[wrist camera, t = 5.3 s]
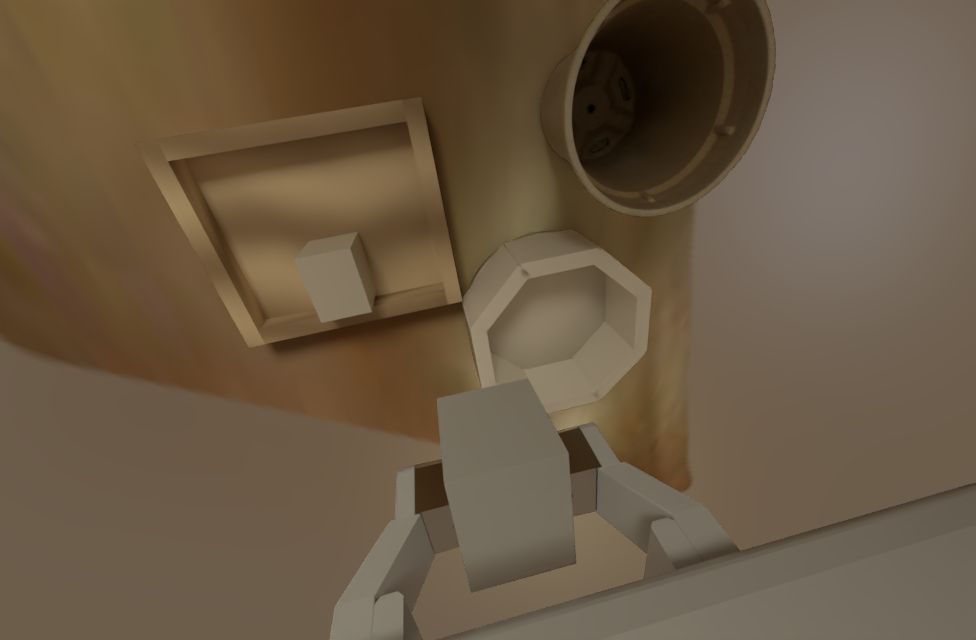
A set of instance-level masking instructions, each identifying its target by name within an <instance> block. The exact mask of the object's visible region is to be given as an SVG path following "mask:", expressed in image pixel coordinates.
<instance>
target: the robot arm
mask: <svg viewBox="0 0 976 640" xmlns="http://www.w3.org/2000/svg"><path fill="white" fill-rule="evenodd" d="M557 433H558V434H559V436H560V438H561V440H562V442H563V444H564V445H565V447H566V449H567V451H568V453H569V466H570V481H571V495H572V510H573V516H577V515H581V514H586V513H590V512H594V511H597V513H598V514H599V515H601V516H602V517H603V518H604V519H605V520H607V521H608V522H609V523H610V524H611V525H613V526H614V527H615V528H616V529H617V530H619V531H620V532H621V533H622V534H624V535H625V536H626V537H627V538H628V539H630V540H631V541H632V542H633V543H634V544H636V545H637V546H638V547H639V548H641V549H642V550H643V551H644V552H645V553H647V559H646V566H645V575H644V579H643V580H639V581H636V582H632V583H629V584H626V585H622V586H619V587H615V588H612V589H608V590H605V591H601V592H598V593H595V594H591V595H588V596H584V597H581V598H577V599H574V600H570V601H567V602H564V603H560V604H557V605H553V606H550V607H546V608H543V609H540V610H536V611H533V612H529V613H526V614H522V615H519V616H516V617H512V618H509V619H506V620H502V621H498V622H495V623H492V624H488V625H485V626H482V627H478V628H474V629H471V630H468V631H464V632H461V633H457V634H454V635H450V636H447V637H444V638H440V639H437V640H976V483H972V484H968V485H965V486H962V487H958V488H955V489H952V490H948V491H944V492H941V493H937V494H934V495H931V496H927V497H924V498H920V499H917V500H914V501H910V502H907V503H903V504H900V505H897V506H893V507H889V508H886V509H883V510H879V511H876V512H872V513H869V514H865V515H862V516H859V517H855V518H852V519H849V520H845V521H842V522H838V523H835V524H832V525H828V526H825V527H821V528H817V529H814V530H811V531H807V532H804V533H800V534H797V535H794V536H790V537H787V538H784V539H780V540H776V541H773V542H770V543H766V544H763V545H760V546H756V547H752V548H749V549H746V550H742V551H740V550H739V549H738V547H737V546H736V545H735V544H734V542H733V541H732V540H731V538H730V537H729V536H728V535H727V534H726V532H725V531H724V530H723V528H722V527H721V526H720V525H719V523H718V522H717V521H716V520H715V518H714V517H713V516H712V514H711V513H710V512H709V511H708V509H707V508H706V507H705V506H704V505H702V504H700V503H699V502H697V501H695V500H693V499H691V498H690V497H688V496H686V495H684V494H682V493H681V492H679V491H677V490H675V489H673V488H672V487H670V486H668V485H666V484H664V483H663V482H661V481H659V480H657V479H655V478H654V477H652V476H650V475H648V474H646V473H645V472H643V471H641V470H639V469H637V468H636V467H634V466H632V465H630V464H628V463H627V462H620V461H619V460H618V458H617V457H616V455H615V454H614V452H613V451H612V449H611V447H610V446H609V444H608V443H607V441H606V440H605V438H604V437H603V435H602V434H601V432H600V430H599V429H598V427H597V426H596V424H594V423H593V422H592V423H588V424H584V425H580V426H577V427H572V428H568V429H564V430H560V431H557ZM457 547H460V546H459V542H458V538H457V534H456V530H455V526H454V522H453V518H452V514H451V510H450V506H449V502H448V498H447V494H446V490H445V486H444V478H443V467H442V459H441V460H436V461H432V462H427V463H422V464H418V465H414V466H410V467H405V468H401V469H398V471H397V479H396V502H395V520H392V521H389V523H388V524H387V526H386V528H385V529H384V531H383V532H382V534H381V535H380V537H379V539H378V540H377V542H376V544H375V545H374V546H373V548H372V550H371V551H370V553H369V554H368V556H367V557H366V559H365V560H364V562H363V564H362V565H361V567H360V568H359V570H358V572H357V573H356V575H355V576H354V578H353V579H352V581H351V582H350V584H349V585H348V587H347V589H346V590H345V592H344V593H343V595H342V596H341V598H340V599H339V601H338V603H337V604H336V606H335V610H334V616H333V622H332V628H331V634H330V640H423V638H422V636H421V634H420V632H419V629H418V627H417V625H416V623H415V620H414V618H413V616H412V611H413V608H414V606H415V603H416V601H417V598H418V596H419V594H420V591H421V588H422V586H423V584H424V582H425V579H426V577H427V574H428V572H429V569H430V567H431V564H432V562H433V560H434V557H435V555H434V554H437V553H440V552H443V551H447V550H450V549H454V548H457Z"/></svg>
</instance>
